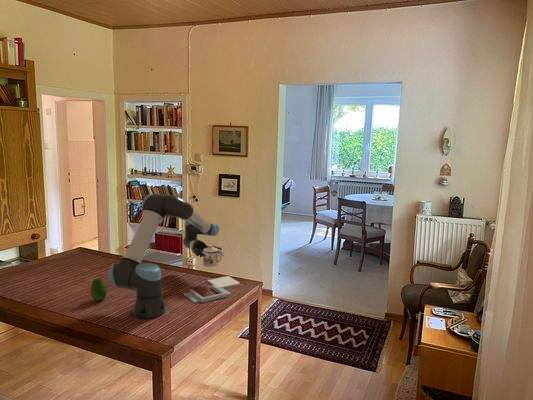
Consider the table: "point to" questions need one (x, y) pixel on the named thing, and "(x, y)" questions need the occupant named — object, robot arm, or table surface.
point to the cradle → (197, 298)
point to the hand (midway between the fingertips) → (215, 255)
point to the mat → (224, 282)
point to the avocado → (98, 289)
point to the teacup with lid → (211, 256)
